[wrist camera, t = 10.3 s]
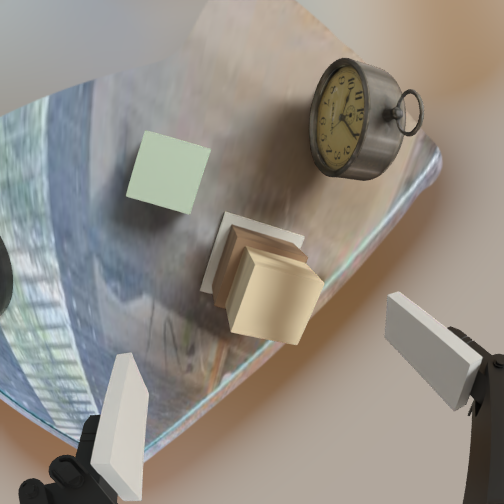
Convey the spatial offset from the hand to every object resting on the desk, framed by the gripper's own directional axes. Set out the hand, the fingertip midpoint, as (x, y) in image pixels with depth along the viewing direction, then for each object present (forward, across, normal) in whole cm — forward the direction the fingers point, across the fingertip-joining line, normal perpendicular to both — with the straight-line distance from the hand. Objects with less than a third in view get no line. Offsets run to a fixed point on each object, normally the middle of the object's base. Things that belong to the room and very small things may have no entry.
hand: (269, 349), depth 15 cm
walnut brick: (+20, +2, -3) cm, 20 cm away
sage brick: (+21, -4, +8) cm, 23 cm away
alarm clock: (+20, +13, +10) cm, 26 cm away
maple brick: (+15, +3, -4) cm, 15 cm away
